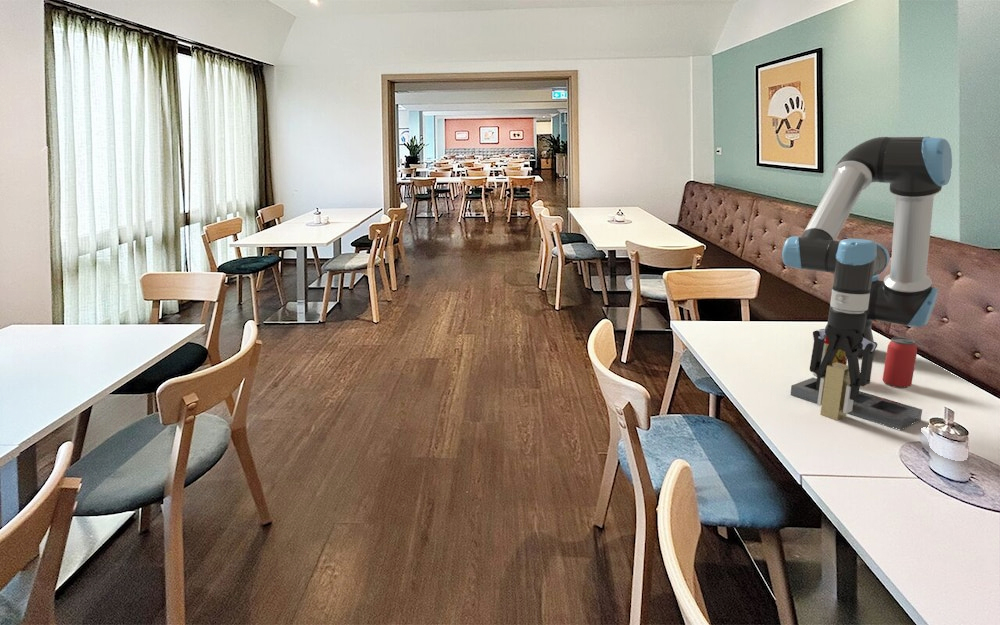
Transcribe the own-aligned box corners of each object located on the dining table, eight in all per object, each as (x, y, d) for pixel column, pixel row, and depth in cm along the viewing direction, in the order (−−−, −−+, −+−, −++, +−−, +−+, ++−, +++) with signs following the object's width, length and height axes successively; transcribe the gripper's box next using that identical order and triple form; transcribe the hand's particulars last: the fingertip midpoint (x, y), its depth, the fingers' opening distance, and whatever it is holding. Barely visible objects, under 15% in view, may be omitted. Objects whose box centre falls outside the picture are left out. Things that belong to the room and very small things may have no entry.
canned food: (851, 379, 181) (857, 336, 178) (825, 381, 179) (831, 337, 176) (831, 369, 188) (837, 327, 185) (806, 371, 187) (811, 329, 184)
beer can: (910, 390, 173) (918, 345, 170) (881, 385, 177) (888, 341, 174) (911, 382, 179) (918, 339, 176) (882, 378, 182) (889, 335, 179)
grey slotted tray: (811, 386, 175) (812, 377, 175) (920, 419, 155) (922, 409, 155) (790, 394, 170) (791, 385, 169) (900, 430, 149) (902, 419, 149)
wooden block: (829, 410, 160) (836, 362, 157) (846, 416, 157) (853, 366, 154) (820, 414, 158) (827, 365, 155) (837, 420, 154) (844, 370, 151)
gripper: (800, 303, 156) (788, 399, 162) (883, 321, 142) (866, 424, 147) (817, 299, 160) (805, 392, 166) (899, 315, 146) (883, 416, 152)
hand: (834, 407), depth 157 cm, fingers open, 5 cm apart
